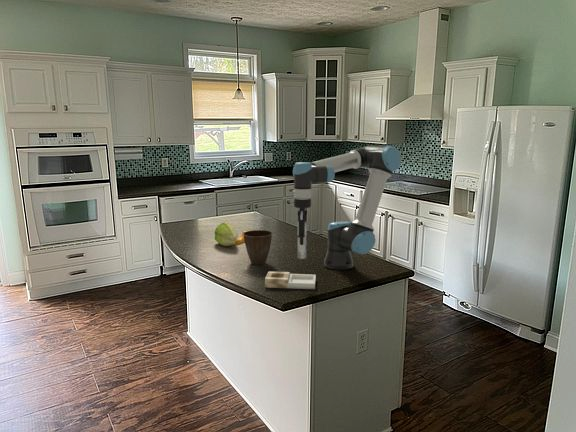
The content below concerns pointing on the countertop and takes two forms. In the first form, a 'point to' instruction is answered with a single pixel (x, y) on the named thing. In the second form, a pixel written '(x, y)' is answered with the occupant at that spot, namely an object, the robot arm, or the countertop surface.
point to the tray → (302, 281)
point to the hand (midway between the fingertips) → (302, 249)
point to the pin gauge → (303, 254)
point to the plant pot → (258, 245)
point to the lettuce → (226, 234)
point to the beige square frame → (277, 279)
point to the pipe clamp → (240, 239)
